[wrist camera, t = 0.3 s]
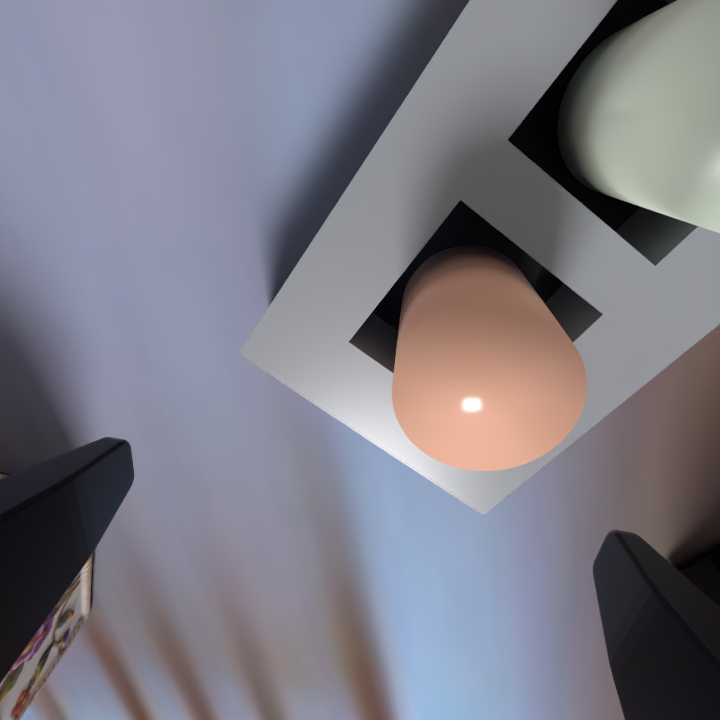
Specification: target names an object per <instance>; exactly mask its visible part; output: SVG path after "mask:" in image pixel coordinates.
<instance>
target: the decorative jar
mask: <svg viewBox="0 0 720 720" xmlns="http://www.w3.org/2000/svg"><path fill="white" fill-rule="evenodd" d="M6 476H7V475H4V474H1V473H0V479H1V478H4V477H6ZM92 557H93V553H92V555H91V557H90V558H89V560H88V561H87V562H86V564H85V565H84V567H83V568H82V570H81V571H80V573H79V574H78V575H77V577H76V578H75V580H74V581H73V582H72V584H71V585H70V587H69V588H68V589H67V591H66V592H65V594H64V595H63V597H62V598H61V599H60V601H59V602H58V604H57V605H56V606H55V608H54V609H53V611H52V612H51V613H50V615H49V616H48V618H47V619H46V620H45V622H44V623H43V625H42V626H41V627H40V629H39V630H38V632H37V633H36V634H35V636H34V637H33V639H32V640H31V641H30V643H29V644H28V646H27V647H26V649H25V650H24V651H23V653H22V654H21V656H20V657H19V658H18V660H17V661H16V663H15V664H14V665H13V667H12V668H11V670H10V671H9V672H8V674H7V675H6V677H5V678H4V679H3V681H2V682H1V684H0V720H20V719H21V718H22V717H23V715H24V713H25V712H26V711H27V709H28V708H29V706H30V705H31V703H32V702H33V700H34V699H35V697H36V696H37V695H38V693H39V692H40V690H41V689H42V687H43V686H44V684H45V683H46V681H47V680H48V678H49V677H50V675H51V674H52V672H53V671H54V669H55V668H56V666H57V665H58V663H59V662H60V660H61V659H62V657H63V656H64V655H65V653H66V651H67V650H68V648H69V647H70V645H71V644H72V642H73V641H74V639H75V638H76V636H77V635H78V633H79V632H80V630H81V629H82V627H83V625H84V623H85V622H86V620H87V618H88V616H89V613H90V597H91V577H92V576H91V572H92Z"/></svg>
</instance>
